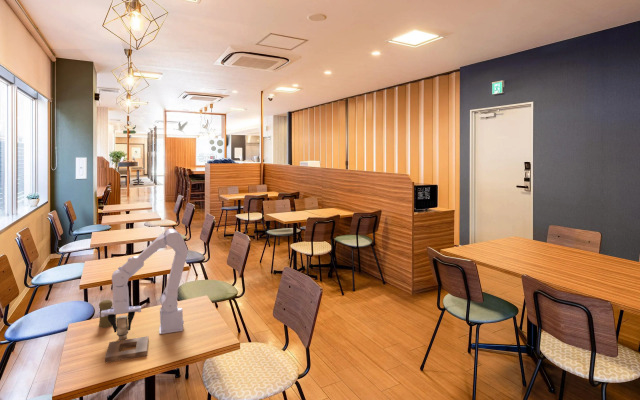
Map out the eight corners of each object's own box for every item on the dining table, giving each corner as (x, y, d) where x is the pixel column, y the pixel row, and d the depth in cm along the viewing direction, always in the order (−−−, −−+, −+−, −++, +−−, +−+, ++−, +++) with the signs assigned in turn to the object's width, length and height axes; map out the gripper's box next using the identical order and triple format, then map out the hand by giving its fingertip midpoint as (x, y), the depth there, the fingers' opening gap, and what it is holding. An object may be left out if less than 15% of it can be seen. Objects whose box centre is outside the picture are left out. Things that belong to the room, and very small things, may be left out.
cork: (107, 328, 162) (106, 304, 160) (95, 326, 163) (94, 302, 162) (117, 322, 168) (116, 299, 166) (106, 320, 169) (104, 297, 167)
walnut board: (148, 340, 152) (148, 336, 152) (147, 355, 141) (146, 350, 141) (109, 346, 147) (109, 342, 146) (105, 362, 136) (104, 357, 135)
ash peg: (128, 335, 156) (128, 314, 155) (127, 339, 153) (127, 318, 151) (117, 336, 155) (116, 316, 154) (116, 341, 151) (115, 320, 150)
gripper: (141, 293, 158) (142, 323, 160) (102, 297, 152) (104, 328, 154) (140, 299, 151) (141, 330, 153) (99, 304, 146) (101, 336, 148)
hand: (122, 330), depth 153 cm, fingers open, 4 cm apart
